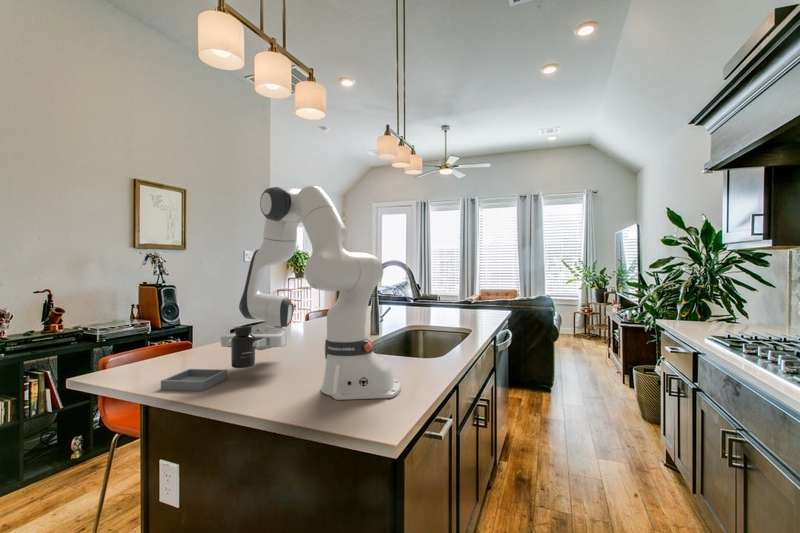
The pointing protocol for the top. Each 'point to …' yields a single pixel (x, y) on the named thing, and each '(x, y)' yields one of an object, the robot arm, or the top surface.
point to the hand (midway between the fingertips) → (241, 344)
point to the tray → (194, 379)
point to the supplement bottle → (242, 348)
